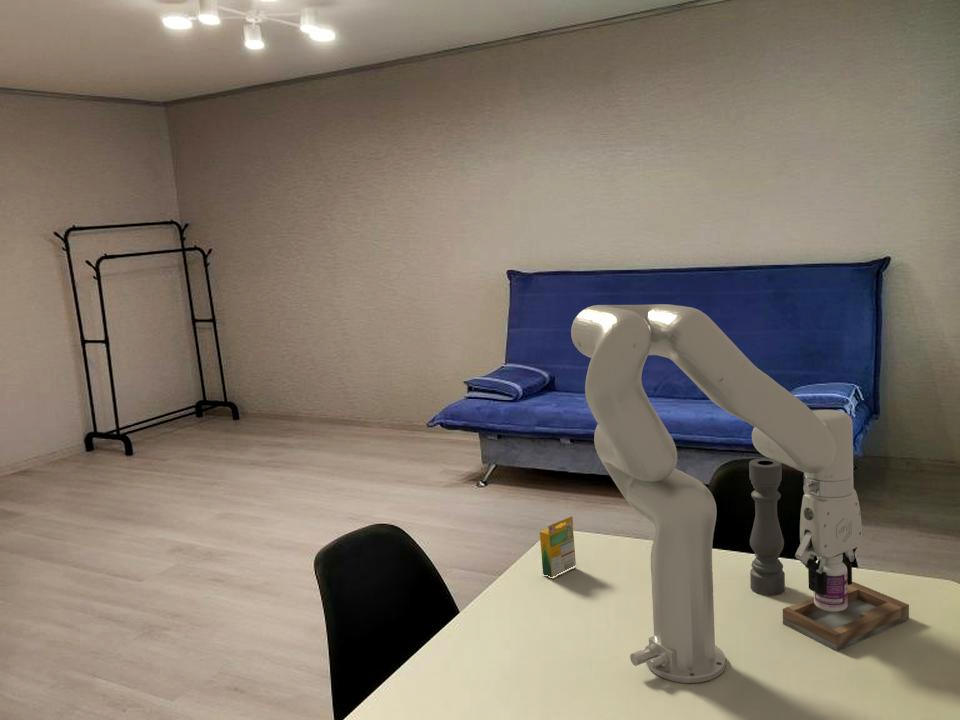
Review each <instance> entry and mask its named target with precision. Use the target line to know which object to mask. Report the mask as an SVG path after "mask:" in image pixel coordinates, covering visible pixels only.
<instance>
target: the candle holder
mask: <svg viewBox="0 0 960 720" xmlns="http://www.w3.org/2000/svg"><path fill="white" fill-rule="evenodd" d="M782 464H783V463H780V462H777V461H775V460H772V459H770V458H767V457H764V458H762V457H761V458H755V459H751V460H750V461H749V462H748V465H749V467H748V469H749V471H748V472H749V473H748V474H749V475H748V477H749V480H750V481H751V484H752V486H753V488H754V490H752V492H751V494H750V495H751V498H752V499H753V501H754V504H755V505H754V509H755V517H754V521H753V526H752V529H751V533H750V537H749V545H750V547H751V549H752V551H753V552H754V556H755V558H754V559H753V560H752V563H751V569H750V572H749V573H750V574H749V575H750V576H749V577H750V579H749V580H750V581H749V582H750V589H751V591H752V592H753V593H756V594H757V595H761V596H767V597H775V596H781V595H782V594H784V593H785V592H786V591H785V590H786V575H785V572H784V570H783V569H784V564H783V563H782V561H780V559H779V558H780V556H781V555H780V554H781V553H782V552H783V550H784V546H785V539H784V536H783V533H782V529H781V526H780V522H779V517H778V502H779V501H778V500H780V499H781V496H782V495H781V493H780V492H779V491H778V490H779V486H780V485H781V482H782V478H783V477H782V475H783V474H782V473H783V472H782V467H783V466H782Z"/></svg>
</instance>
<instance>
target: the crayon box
mask: <svg viewBox="0 0 960 720" xmlns="http://www.w3.org/2000/svg"><path fill="white" fill-rule="evenodd" d="M573 519H574V517H573V515H571V516H570V517H567V518H564V519H562V520H559V521H557V522H554V523H552V524H550V525H548V527H547V528H545V529H543V530H541V531H539V541H540V553H541V564H542V565H541V566H542V575H543V574H544V575H548V576H550V577H553V576H556V575H557V574H559V573H561V572H563V571H565V570H567V569H569V568H571V567H573V566H575V565H576V566H577V563H576V562H577V561H576V551H575V549H576V547H575V537H574V523H573V521H574V520H573Z"/></svg>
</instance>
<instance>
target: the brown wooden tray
mask: <svg viewBox="0 0 960 720" xmlns="http://www.w3.org/2000/svg"><path fill="white" fill-rule="evenodd" d="M909 620H910V604H909V603H907V602H903V601H902V600H899V599H896V598H894V597H891V596H889V595H887V594H884V593H881V592H880V591H877V590H874V589H873V588H870V587H867V586H865V585H863V584H860V583H857V582H855V581H852V584H851V585H848V606H847V608H846V609H844V610H843V611H838V612H831V611H825V610H822V609H820V608H818V607H817V606H816V605H815V603H814V596H812V597H810V598H807V599H804V600H801V601H800V602H797V603H795V604H791V605H789V606H786V607H783V608H782V625H784V626H787V627H788V628H791V629H792V630H794V631H796V632H799V634H802V635H804V636H806V637H808V638H810V639H812V640H813V641H816V642H818V643H820V644H822V645H824V646H825V647H827V648H829V649H831V650H833V651H836V652H837V651H841V650H842V649H845V648H847V647H849V646H852V645H854V644H857V643H858V642H861V641H863V640H865V639H867V638H870V637H873V636H874V635H877V634H879V633H881V632H884V631H886V630H889V629H891V628H893V627H896V626H897V625H899V624H902V623H905V622H907V621H909Z"/></svg>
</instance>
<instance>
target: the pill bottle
mask: <svg viewBox="0 0 960 720" xmlns="http://www.w3.org/2000/svg"><path fill="white" fill-rule="evenodd" d="M818 558H819V557H817V556H816V559H817V560H816V561H815V562H816V563H817V562H818ZM842 560H843V554H842V553H841V554H839V555H836V556H833V557H830V558H826V561H825V566H824V570H823V572H826V577H827V594H826V595H821V594H819V593H816V592H814V591H813V597H814V603H815V605H816V606H817V607H818V608H820V609H822V610H825V611H831V612H838V611H843V610H844V609H846V608H847V606H848V583H847V567H846V565H845V564H844V563H843V562H842Z"/></svg>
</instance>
